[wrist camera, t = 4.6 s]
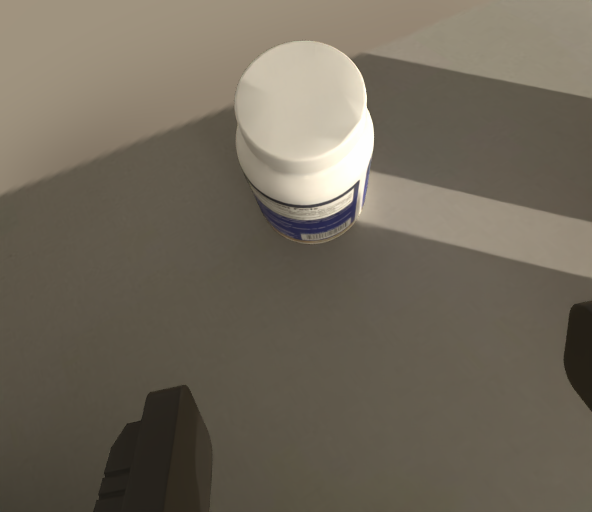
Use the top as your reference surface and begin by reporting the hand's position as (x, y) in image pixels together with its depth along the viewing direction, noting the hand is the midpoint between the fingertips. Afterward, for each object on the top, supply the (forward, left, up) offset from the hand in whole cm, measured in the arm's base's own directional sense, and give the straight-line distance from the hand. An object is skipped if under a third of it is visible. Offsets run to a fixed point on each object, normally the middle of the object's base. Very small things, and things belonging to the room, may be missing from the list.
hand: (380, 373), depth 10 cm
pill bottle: (-4, -9, -15) cm, 17 cm away
